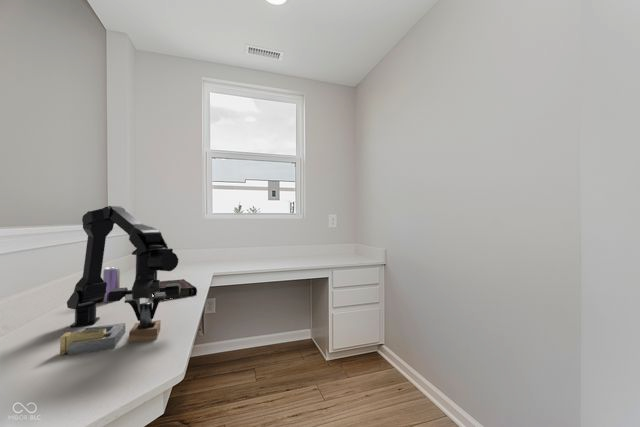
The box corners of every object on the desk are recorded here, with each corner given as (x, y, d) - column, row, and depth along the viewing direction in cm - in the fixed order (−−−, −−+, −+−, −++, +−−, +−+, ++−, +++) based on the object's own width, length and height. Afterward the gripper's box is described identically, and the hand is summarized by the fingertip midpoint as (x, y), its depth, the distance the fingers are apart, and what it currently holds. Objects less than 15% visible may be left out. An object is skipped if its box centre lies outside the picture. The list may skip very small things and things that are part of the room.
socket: (85, 337, 82) (86, 328, 82) (125, 332, 86) (125, 322, 86) (68, 355, 71) (68, 344, 71) (114, 347, 75) (114, 337, 75)
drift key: (65, 350, 74) (65, 332, 74) (106, 343, 78) (106, 326, 78) (59, 355, 71) (60, 336, 71) (102, 348, 75) (102, 330, 75)
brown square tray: (135, 332, 85) (135, 323, 85) (160, 329, 88) (160, 320, 88) (129, 343, 78) (129, 332, 78) (156, 338, 81) (156, 328, 81)
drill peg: (140, 331, 84) (141, 302, 84) (152, 329, 85) (152, 301, 86) (138, 335, 81) (138, 305, 81) (150, 333, 82) (151, 304, 83)
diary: (185, 287, 150) (185, 278, 151) (197, 296, 131) (197, 286, 131) (145, 292, 139) (146, 282, 139) (152, 303, 119) (153, 291, 120)
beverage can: (110, 303, 118) (110, 269, 119) (99, 302, 119) (100, 268, 120) (122, 299, 124) (123, 267, 125) (112, 298, 125) (112, 266, 126)
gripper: (101, 276, 73) (99, 334, 72) (178, 271, 80) (177, 323, 80) (113, 270, 83) (111, 320, 82) (180, 265, 91) (180, 312, 90)
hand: (145, 319), depth 83 cm, fingers closed on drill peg, 3 cm apart
